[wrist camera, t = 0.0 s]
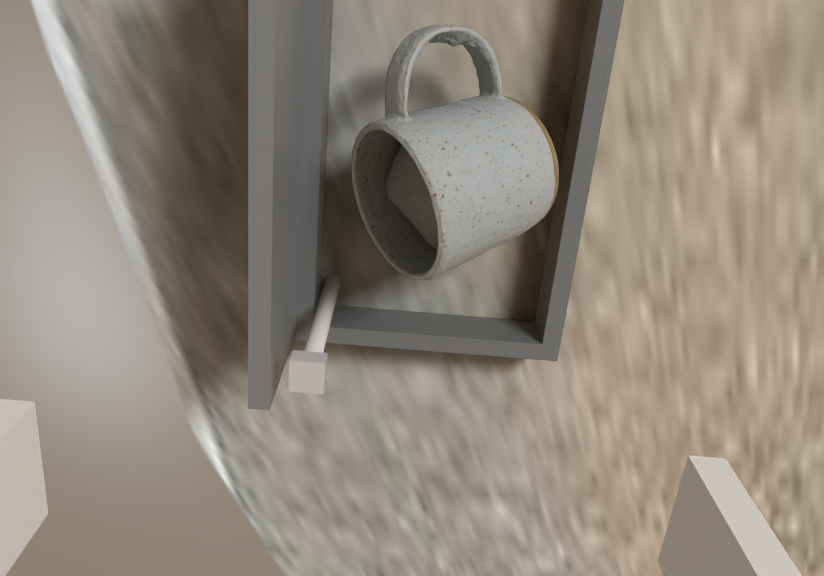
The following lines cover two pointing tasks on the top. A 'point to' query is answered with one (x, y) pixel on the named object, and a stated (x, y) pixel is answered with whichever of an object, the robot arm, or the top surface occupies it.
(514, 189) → the ceramic mug
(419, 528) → the top surface
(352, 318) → the case
